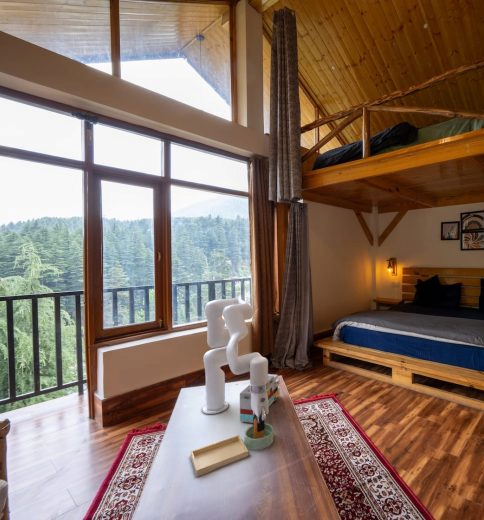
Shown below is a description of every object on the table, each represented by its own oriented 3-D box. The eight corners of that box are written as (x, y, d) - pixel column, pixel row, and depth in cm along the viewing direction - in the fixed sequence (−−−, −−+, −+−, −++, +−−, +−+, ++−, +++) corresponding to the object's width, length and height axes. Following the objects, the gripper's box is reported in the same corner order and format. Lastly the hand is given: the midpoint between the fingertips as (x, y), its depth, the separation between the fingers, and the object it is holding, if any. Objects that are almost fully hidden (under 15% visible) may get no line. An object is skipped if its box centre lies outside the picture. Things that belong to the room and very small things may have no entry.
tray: (190, 457, 121) (190, 451, 121) (238, 440, 132) (238, 434, 132) (196, 477, 110) (196, 470, 110) (248, 456, 121) (248, 450, 121)
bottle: (252, 438, 131) (252, 414, 131) (261, 435, 134) (261, 412, 133) (255, 443, 128) (255, 419, 127) (265, 440, 130) (265, 416, 130)
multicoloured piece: (280, 396, 173) (280, 370, 173) (254, 425, 143) (254, 394, 143) (267, 395, 174) (267, 369, 174) (239, 423, 145) (239, 393, 144)
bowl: (241, 440, 132) (241, 429, 132) (267, 431, 139) (267, 420, 139) (250, 455, 122) (250, 443, 122) (277, 444, 129) (277, 433, 129)
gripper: (274, 391, 125) (274, 434, 126) (260, 377, 139) (260, 416, 140) (257, 396, 121) (256, 441, 122) (244, 381, 135) (244, 421, 135)
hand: (258, 427), depth 131 cm, fingers closed on bottle, 4 cm apart
